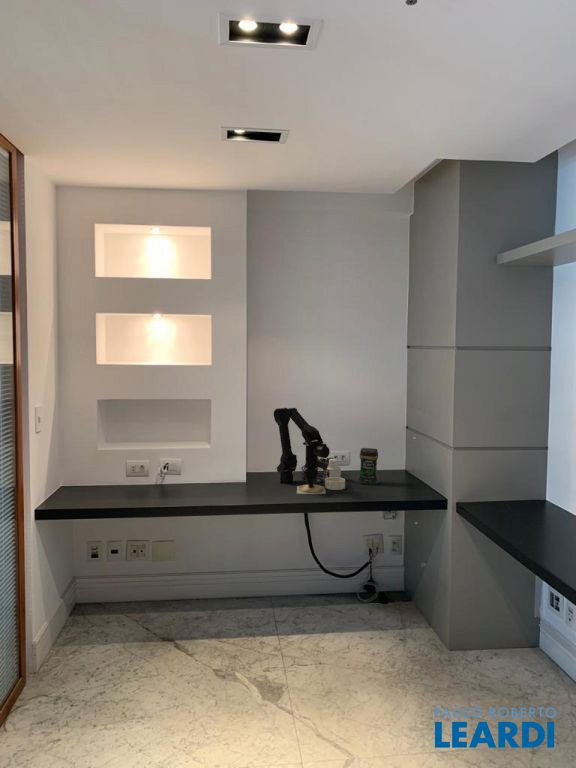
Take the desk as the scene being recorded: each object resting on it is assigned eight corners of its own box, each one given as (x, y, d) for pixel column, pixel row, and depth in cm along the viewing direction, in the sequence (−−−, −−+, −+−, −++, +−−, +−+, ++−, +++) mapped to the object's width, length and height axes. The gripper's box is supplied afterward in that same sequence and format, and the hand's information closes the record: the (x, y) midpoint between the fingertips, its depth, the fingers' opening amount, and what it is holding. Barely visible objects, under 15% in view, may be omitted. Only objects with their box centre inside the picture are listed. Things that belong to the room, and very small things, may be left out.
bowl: (325, 490, 288) (325, 481, 287) (324, 485, 298) (324, 477, 297) (345, 490, 287) (345, 482, 287) (344, 485, 297) (344, 477, 297)
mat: (296, 494, 280) (296, 493, 280) (297, 487, 294) (297, 486, 294) (325, 494, 280) (325, 493, 280) (324, 487, 294) (324, 486, 294)
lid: (298, 492, 281) (299, 482, 281) (299, 486, 293) (299, 476, 293) (323, 493, 281) (323, 482, 280) (322, 486, 293) (323, 476, 292)
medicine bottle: (322, 479, 310) (322, 457, 309) (334, 478, 313) (334, 456, 312) (329, 482, 304) (329, 460, 303) (340, 481, 307) (341, 459, 306)
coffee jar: (358, 484, 300) (358, 449, 299) (360, 480, 308) (360, 446, 307) (376, 485, 298) (377, 450, 296) (378, 482, 305) (379, 447, 304)
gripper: (328, 458, 276) (328, 490, 277) (327, 451, 295) (326, 481, 296) (305, 458, 276) (304, 490, 278) (305, 451, 295) (305, 481, 296)
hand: (311, 485), depth 287 cm, fingers open, 7 cm apart
